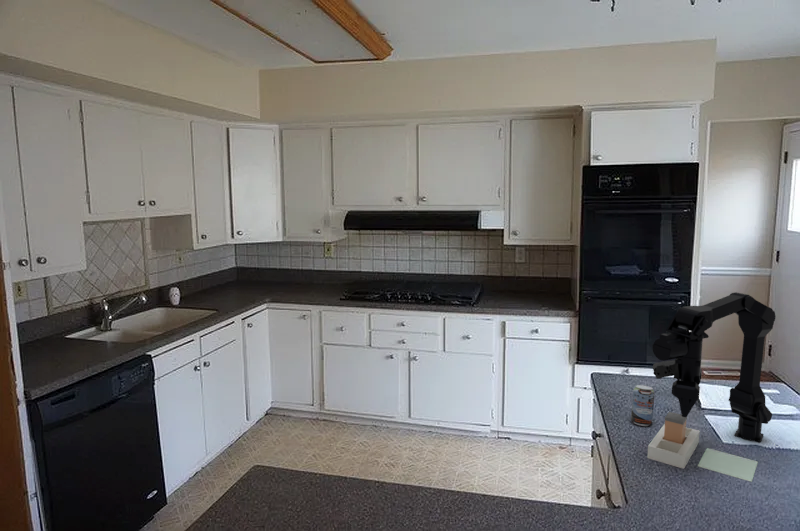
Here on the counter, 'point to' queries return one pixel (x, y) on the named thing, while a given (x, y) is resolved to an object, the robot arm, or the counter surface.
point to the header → (673, 448)
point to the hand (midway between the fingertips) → (685, 410)
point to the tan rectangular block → (675, 428)
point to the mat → (728, 464)
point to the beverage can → (642, 405)
